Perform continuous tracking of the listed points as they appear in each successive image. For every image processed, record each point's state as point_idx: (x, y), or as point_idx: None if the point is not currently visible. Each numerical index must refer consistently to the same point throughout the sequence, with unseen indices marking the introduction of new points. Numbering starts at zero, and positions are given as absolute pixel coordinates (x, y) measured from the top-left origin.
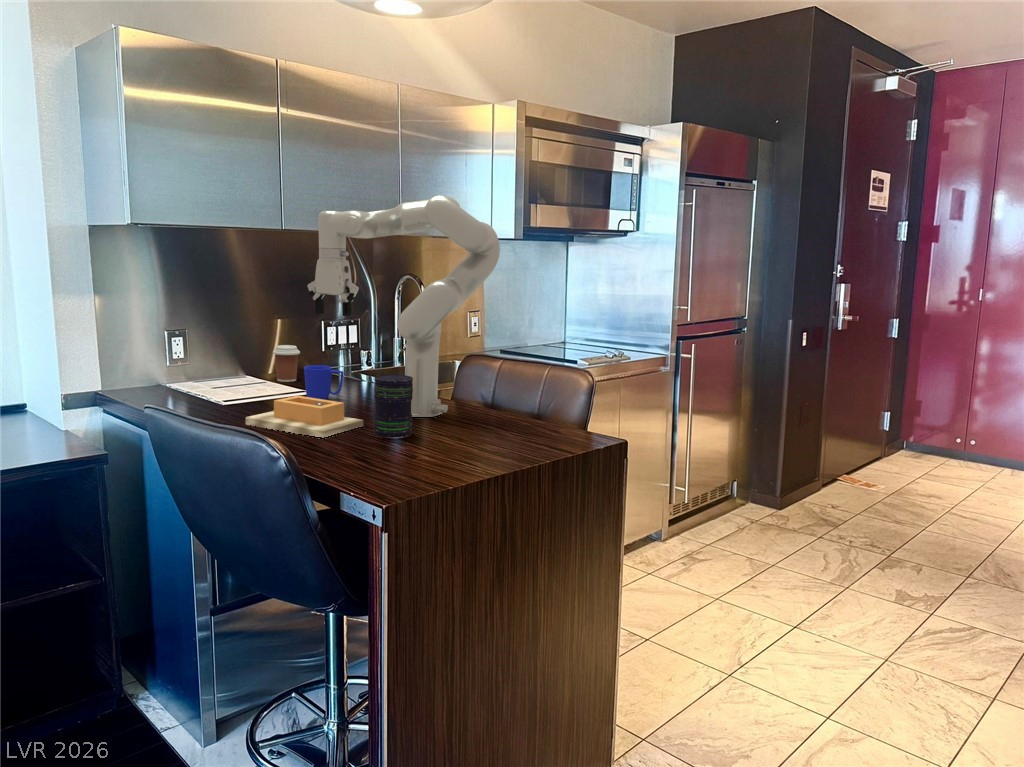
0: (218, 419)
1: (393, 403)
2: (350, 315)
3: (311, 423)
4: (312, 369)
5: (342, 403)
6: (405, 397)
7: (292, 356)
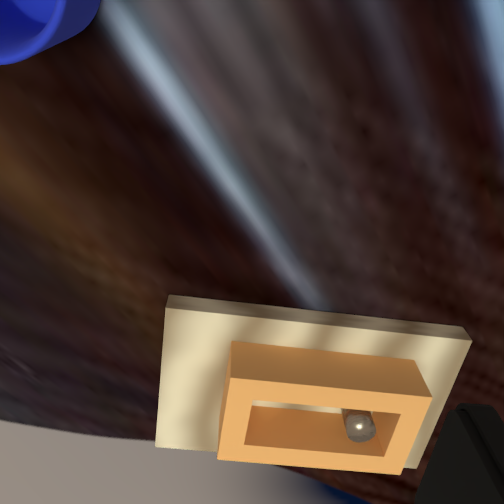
0: (54, 419)
1: None
2: (484, 408)
3: None
4: (9, 63)
5: (429, 403)
6: None
7: None
